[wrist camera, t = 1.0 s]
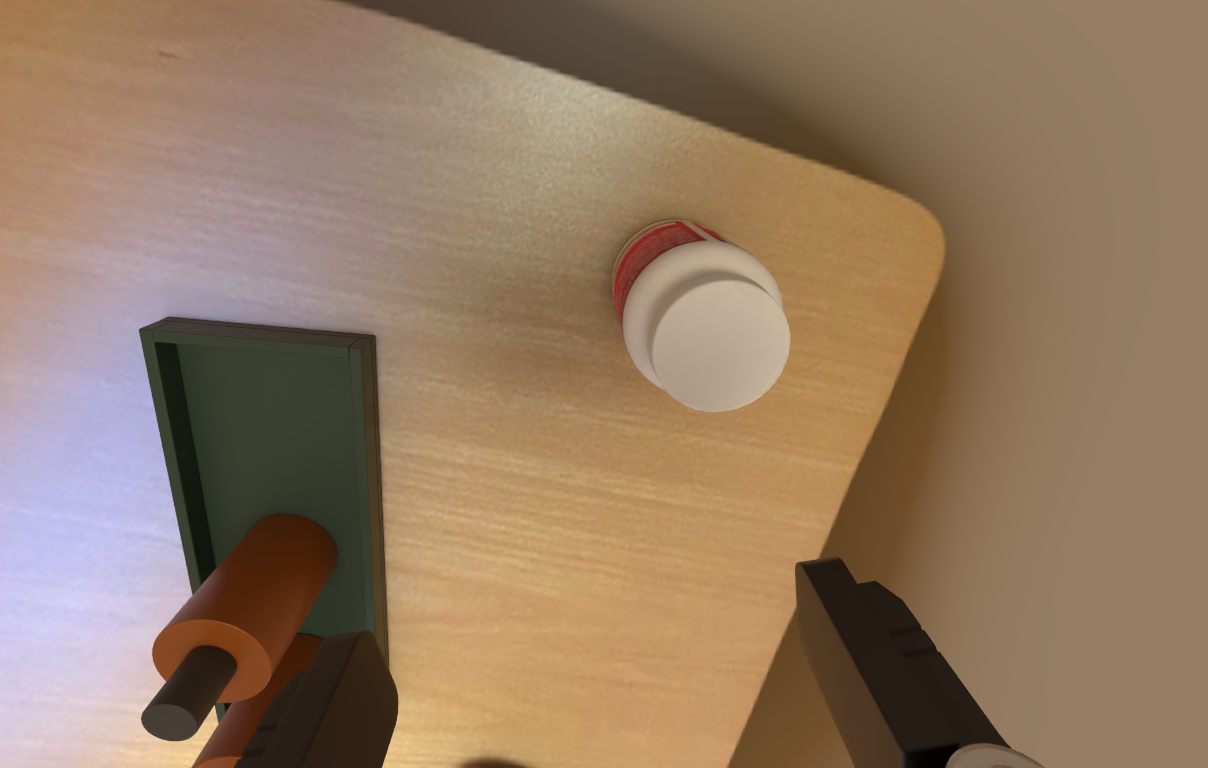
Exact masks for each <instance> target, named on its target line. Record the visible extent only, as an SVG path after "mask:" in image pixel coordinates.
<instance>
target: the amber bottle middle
mask: <svg viewBox="0 0 1208 768" xmlns="http://www.w3.org/2000/svg"><path fill="white" fill-rule="evenodd" d="M336 563H337V548H336V545H335V543H334V541H333V539H332V537H331V536H330V535H329V533H328V532H327V531H326V530H325V529H324V528H323V527H321V526H320V525H318V524H317V523H315V522H314V521H312V520H310V519H307V518H305V517H302V516H298V515H292V514H276V515H271V516H268V517H265V518H263V519H261V520H259V521H258V522H257V523H255V524H254V525H253V526H252V527H251V529H250V530H249V531H248V532H247V533H246V534H245V535H244V537H243V538H242V539H241V540H240V541H239V542H238V544H237V545H236V546H235V547H234V548H233V549H232V550H231V552H230V553H229V554H228V555H227V556H226V557H225V559H224V560H223V561H222V562H221V563H220V564H219V566H218V567H217V568H216V569H215V570H214V571H213V572H212V574H211V575H210V576H209V577H208V578H207V579H206V581H205V582H204V583H203V584H202V585H201V586H200V588H199V589H198V590H197V591H196V592H195V593H194V594H193V596H192V597H191V598H190V599H189V600H188V601H187V603H186V604H185V605H184V606H183V607H182V608H181V610H180V611H179V612H178V613H177V614H176V615H175V616H174V618H173V619H172V620H171V621H170V622H169V623H168V625H167V626H166V627H165V628H164V629H163V630H162V632H161V633H160V634H159V635H158V637H157V638H156V640H155V642H154V645H153V649H152V656H153V661H154V664H155V667H156V669H157V670H158V672H159V673H160V675H161V676H162V677H163V678H164V679H165V681H167V682H166V683H165V684H164V686H163V687H162V688H161V689H160V691H159V692H158V693H157V695H156V696H155V697H154V698H153V700H152V701H151V702H150V704H149V705H148V706H147V708H146V709H145V710H144V711H143V713H142V717H141V721H142V724H143V726H144V728H145V729H146V730H147V731H148V732H149V733H150V734H152V735H154V736H155V737H158V738H160V739H163V740H167V741H183V740H186V739H189V738H191V737H192V736H193V735H195V733H196V732H197V731H198V729H199V728H200V726H201V725H202V723H203V722H204V720H205V719H206V717H207V715H208V714H209V712H210V711H211V709H212V708H213V706H214V705H215V703H231V702H238V701H242V700H246V699H248V698H251V697H253V696H255V695H256V694H258V693H259V692H260V691H261V690H263V689H264V688H265V686H266V685H267V684H268V682H269V680H270V678H271V677H272V675H273V673H274V672H275V670H276V668H277V666H278V665H279V663H280V661H281V660H282V658H283V656H284V654H285V653H286V651H287V649H288V647H289V646H290V644H291V642H292V641H293V639H294V637H295V635H296V634H297V632H298V630H299V629H300V627H301V625H302V623H303V622H304V620H305V618H306V617H307V615H308V613H309V611H310V610H311V608H312V606H313V604H314V603H315V601H316V599H317V598H318V596H319V594H320V592H321V591H322V589H323V587H324V586H325V584H326V582H327V580H328V579H329V577H330V575H331V573H332V572H333V570H334V568H335V566H336Z"/></svg>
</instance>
